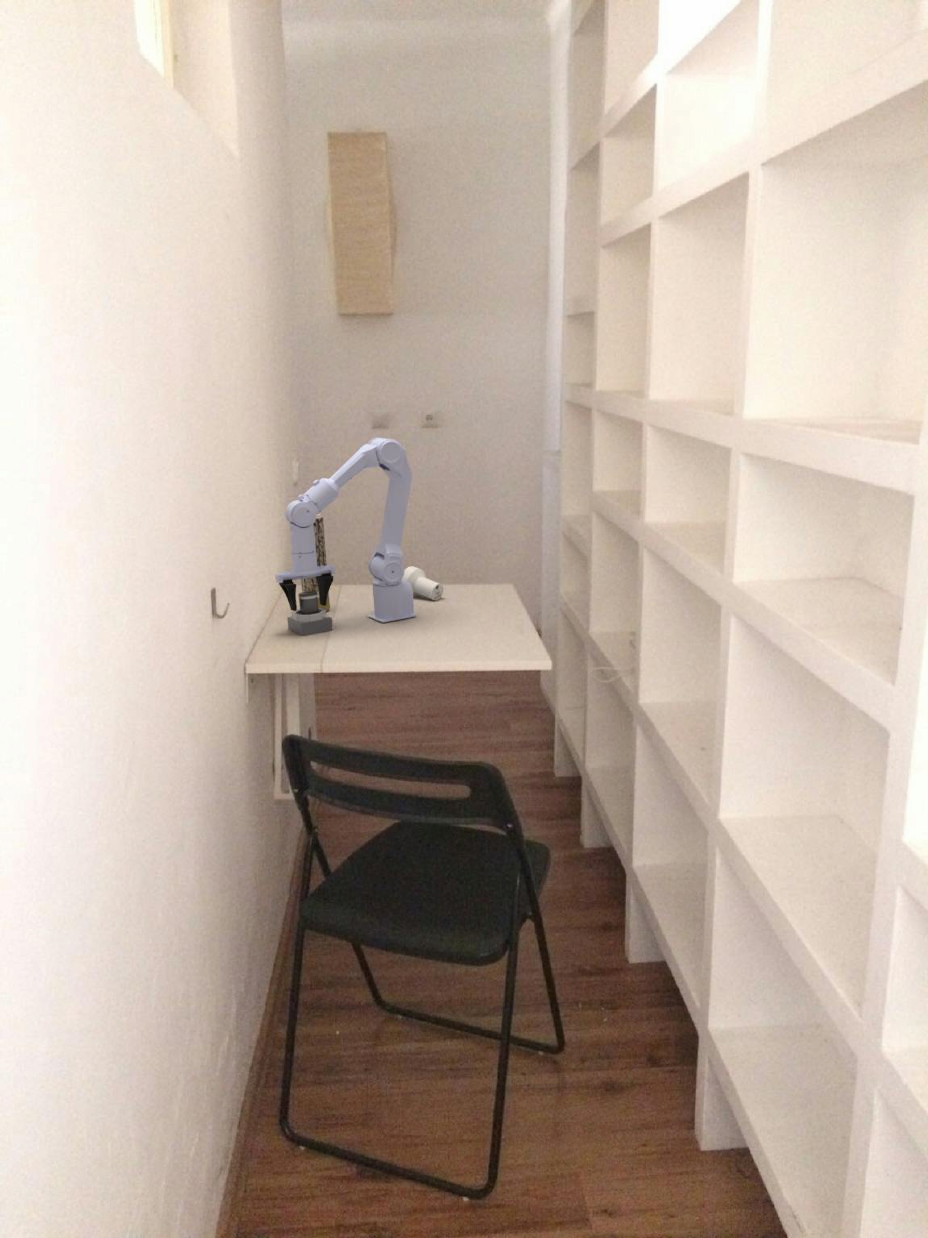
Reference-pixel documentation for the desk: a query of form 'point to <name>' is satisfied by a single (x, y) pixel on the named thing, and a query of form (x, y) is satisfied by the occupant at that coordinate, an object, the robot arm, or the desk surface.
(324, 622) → the mount
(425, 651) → the desk surface
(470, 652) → the desk surface
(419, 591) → the spotlight
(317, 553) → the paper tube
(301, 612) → the lens
